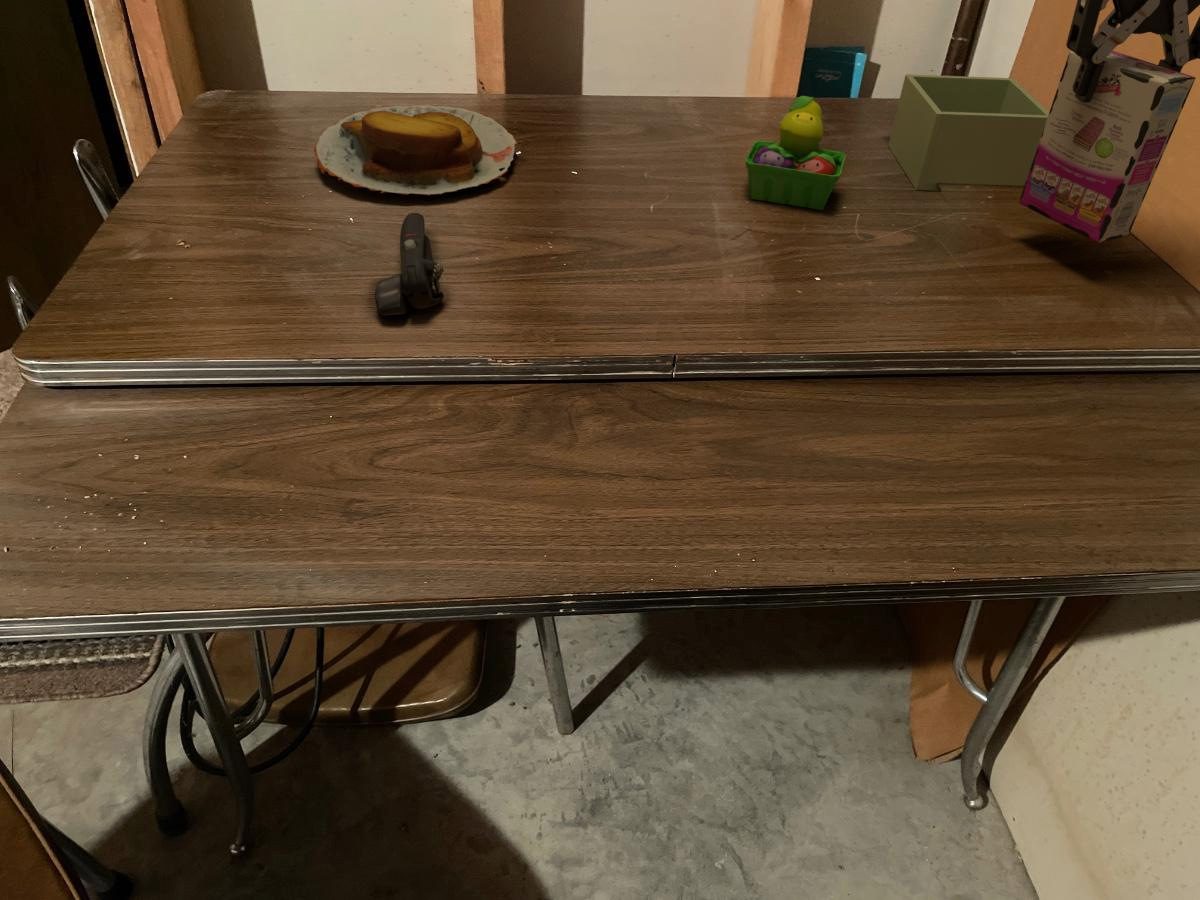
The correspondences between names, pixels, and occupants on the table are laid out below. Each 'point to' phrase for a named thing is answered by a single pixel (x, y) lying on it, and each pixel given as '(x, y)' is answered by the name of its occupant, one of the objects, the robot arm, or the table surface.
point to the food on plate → (415, 149)
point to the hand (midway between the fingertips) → (1117, 100)
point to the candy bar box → (1104, 145)
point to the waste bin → (966, 131)
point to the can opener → (411, 273)
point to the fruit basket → (795, 161)
